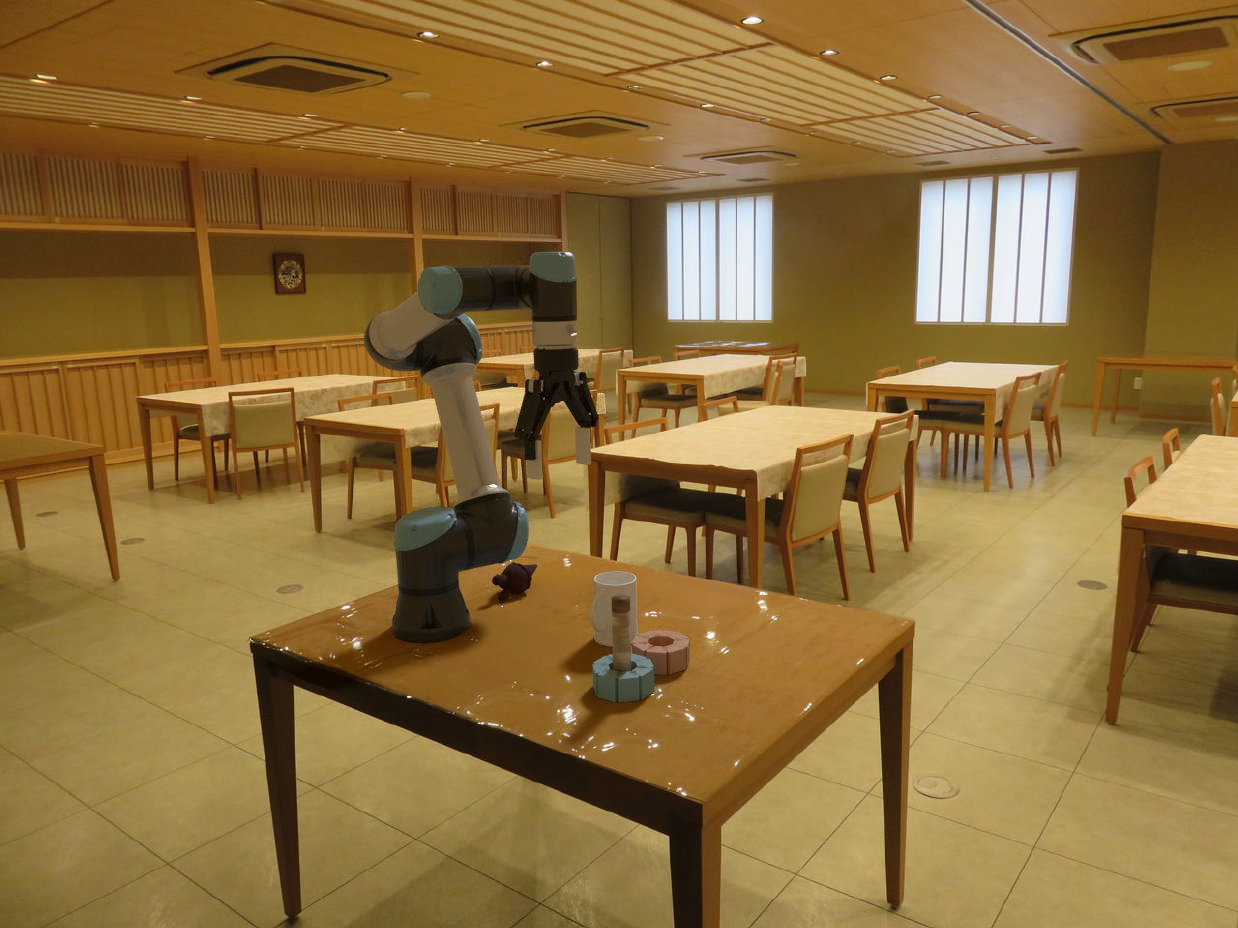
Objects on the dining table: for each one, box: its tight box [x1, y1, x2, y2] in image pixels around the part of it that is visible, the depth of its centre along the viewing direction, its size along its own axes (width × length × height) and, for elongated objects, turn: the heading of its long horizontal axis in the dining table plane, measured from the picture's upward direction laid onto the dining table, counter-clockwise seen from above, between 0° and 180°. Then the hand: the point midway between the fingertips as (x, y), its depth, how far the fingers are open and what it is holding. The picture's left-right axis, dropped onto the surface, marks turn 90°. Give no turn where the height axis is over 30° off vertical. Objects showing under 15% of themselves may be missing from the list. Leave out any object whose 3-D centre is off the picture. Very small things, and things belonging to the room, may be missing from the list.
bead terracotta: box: [631, 629, 691, 676], centre depth 160 cm, size 10×10×4 cm
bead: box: [591, 652, 655, 703], centre depth 150 cm, size 10×10×4 cm
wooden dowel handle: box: [611, 595, 632, 672], centre depth 149 cm, size 3×3×16 cm
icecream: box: [491, 561, 538, 603], centre depth 197 cm, size 7×7×15 cm
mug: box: [589, 570, 639, 648], centre depth 169 cm, size 12×8×12 cm
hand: (560, 471), depth 155 cm, fingers open, 13 cm apart
